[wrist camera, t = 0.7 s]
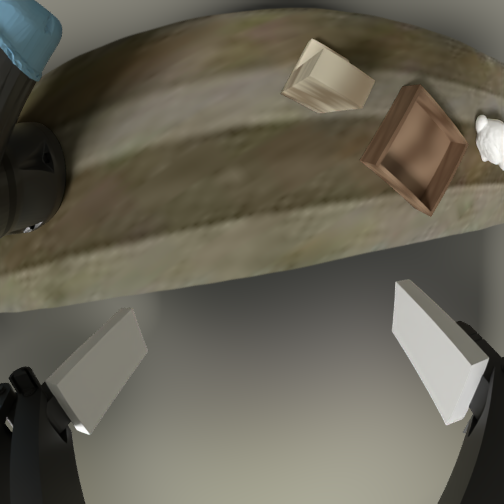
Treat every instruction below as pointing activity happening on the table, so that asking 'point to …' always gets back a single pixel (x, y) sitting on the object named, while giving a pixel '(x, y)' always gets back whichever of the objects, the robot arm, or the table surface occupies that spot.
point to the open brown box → (416, 149)
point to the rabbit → (490, 140)
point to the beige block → (327, 81)
